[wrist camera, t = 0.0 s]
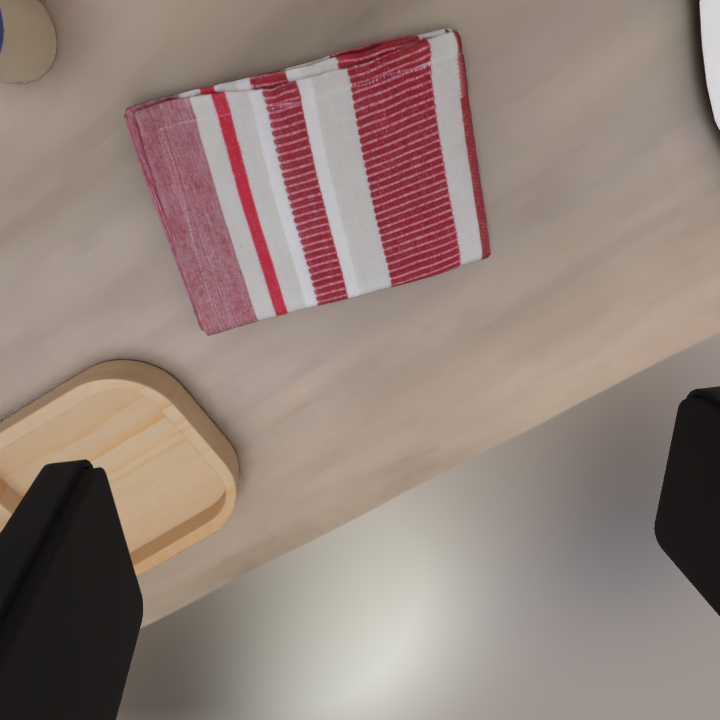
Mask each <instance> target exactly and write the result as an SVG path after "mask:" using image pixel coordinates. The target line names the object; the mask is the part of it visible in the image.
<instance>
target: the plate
mask: <svg viewBox="0 0 720 720" xmlns="http://www.w3.org/2000/svg"><path fill="white" fill-rule="evenodd" d="M699 14H700V33H701V47H702V55H703V63H704V71H705V79H706V85H707V90H708V94H709V99H710V103H711V108H712V112H713V116H714V120H715V122H716V124H717V126H718V128H719V130H720V0H699Z"/></svg>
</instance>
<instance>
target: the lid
mask: <svg viewBox="0 0 720 720" xmlns="http://www.w3.org/2000/svg"><path fill="white" fill-rule="evenodd" d="M4 31H5V29H4V27H3V18H2V13H1V9H0V53H1V50H2V45H3V38H4Z"/></svg>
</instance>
